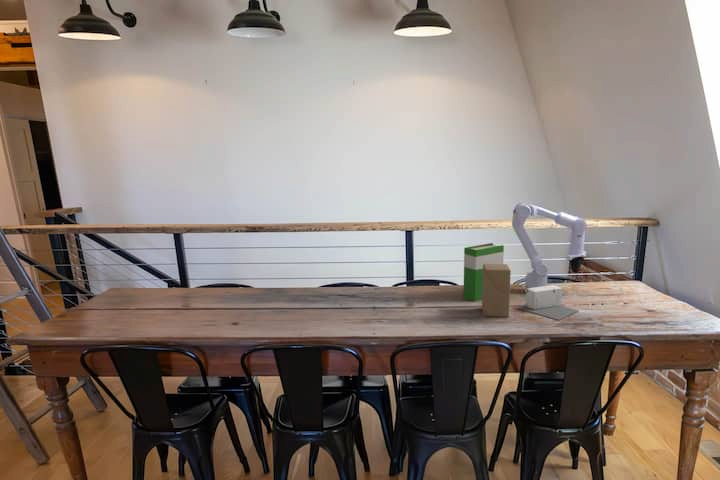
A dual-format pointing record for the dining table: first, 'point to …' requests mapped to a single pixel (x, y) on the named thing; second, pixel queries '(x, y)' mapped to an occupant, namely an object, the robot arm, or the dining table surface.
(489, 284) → the wooden block
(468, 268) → the hardback book
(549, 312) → the mat
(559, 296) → the skincare box
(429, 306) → the dining table surface
